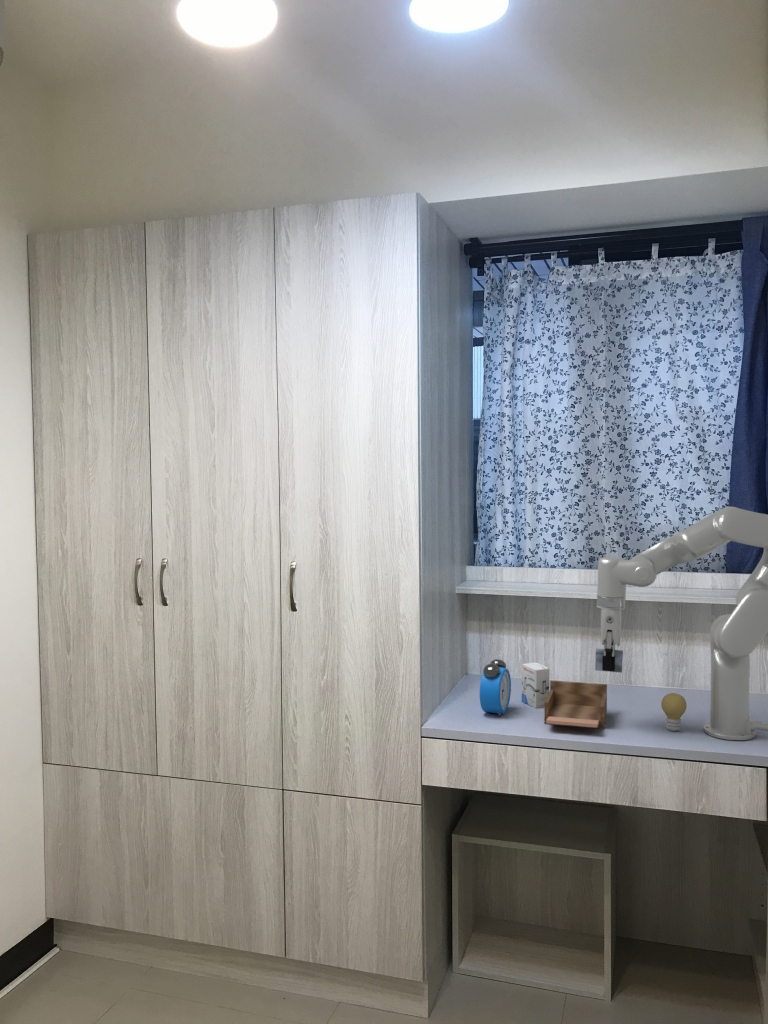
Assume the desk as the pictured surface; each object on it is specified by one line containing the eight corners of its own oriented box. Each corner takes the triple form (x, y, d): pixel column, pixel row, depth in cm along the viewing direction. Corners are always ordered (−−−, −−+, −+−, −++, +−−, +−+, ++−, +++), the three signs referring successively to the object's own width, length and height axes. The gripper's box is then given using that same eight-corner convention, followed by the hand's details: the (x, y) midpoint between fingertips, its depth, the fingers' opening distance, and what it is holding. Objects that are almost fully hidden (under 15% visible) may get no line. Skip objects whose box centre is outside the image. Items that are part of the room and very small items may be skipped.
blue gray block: (622, 668, 229) (623, 650, 229) (622, 672, 225) (622, 654, 224) (595, 666, 231) (596, 648, 231) (594, 670, 227) (595, 652, 226)
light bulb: (666, 725, 229) (666, 689, 228) (689, 729, 225) (690, 692, 224) (657, 730, 224) (657, 694, 223) (681, 735, 220) (681, 698, 219)
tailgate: (599, 719, 226) (597, 724, 219) (599, 722, 226) (597, 727, 219) (549, 715, 230) (546, 720, 223) (549, 718, 230) (546, 723, 223)
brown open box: (606, 713, 240) (606, 684, 240) (603, 728, 226) (604, 697, 226) (550, 708, 245) (550, 680, 245) (544, 723, 231) (544, 693, 230)
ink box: (520, 701, 254) (520, 663, 253) (535, 699, 255) (535, 661, 255) (535, 708, 246) (535, 669, 245) (550, 706, 247) (550, 667, 247)
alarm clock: (499, 720, 235) (499, 667, 234) (478, 717, 237) (478, 665, 237) (511, 707, 247) (511, 657, 246) (491, 705, 249) (491, 656, 249)
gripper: (624, 608, 218) (622, 677, 219) (625, 598, 234) (623, 662, 235) (595, 606, 220) (593, 674, 221) (598, 597, 236) (596, 660, 237)
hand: (608, 667), depth 228 cm, fingers closed on blue gray block, 4 cm apart
